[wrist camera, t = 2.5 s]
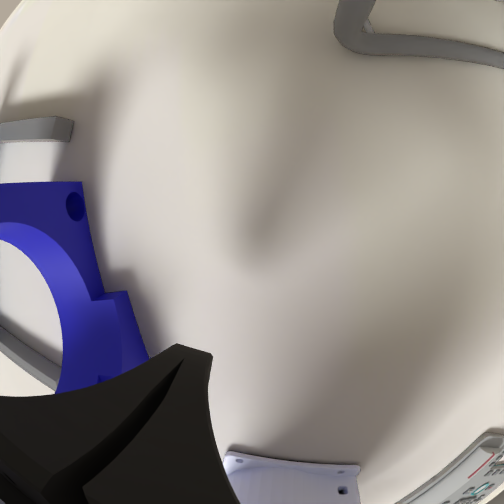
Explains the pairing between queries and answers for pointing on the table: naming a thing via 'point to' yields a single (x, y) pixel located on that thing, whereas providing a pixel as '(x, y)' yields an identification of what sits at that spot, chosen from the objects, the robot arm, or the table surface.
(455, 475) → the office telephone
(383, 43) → the newton's cradle
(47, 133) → the bulldozer blade
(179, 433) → the robot arm
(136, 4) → the table surface
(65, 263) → the cable clip
